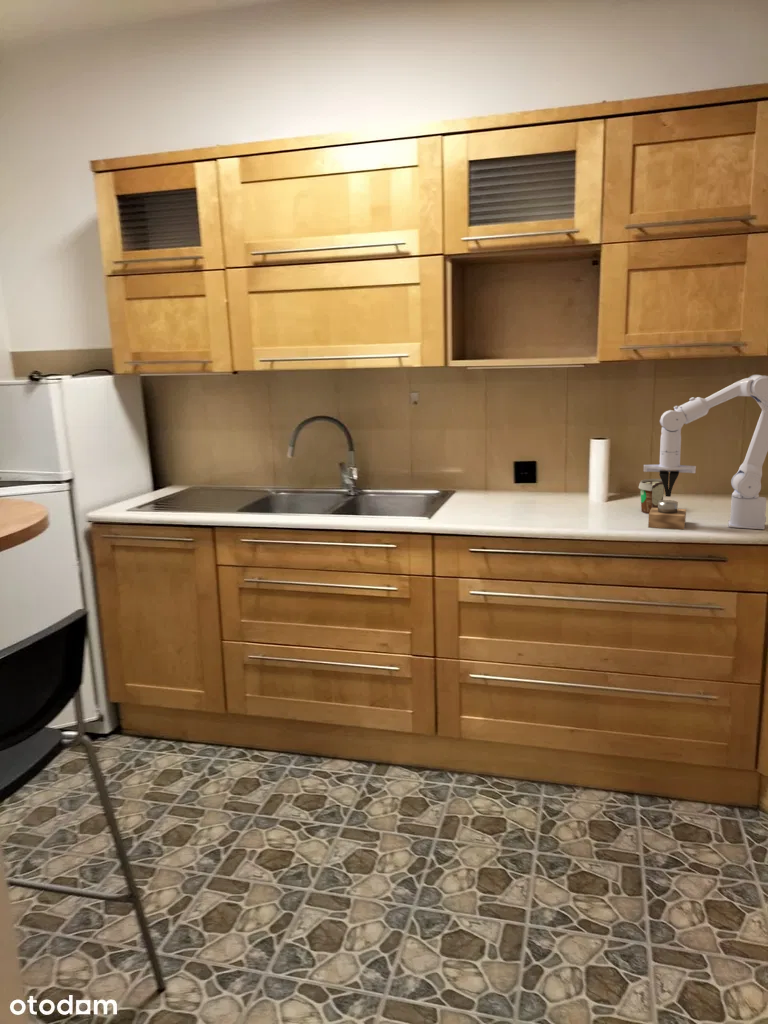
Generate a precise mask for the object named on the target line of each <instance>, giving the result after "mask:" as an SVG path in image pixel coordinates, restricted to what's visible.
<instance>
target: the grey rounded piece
mask: <svg viewBox="0 0 768 1024" xmlns="http://www.w3.org/2000/svg"><path fill="white" fill-rule="evenodd" d="M678 506H679V501H677V500H671V499H663V500H660V501H658V512H660V513H667V514H671V513H677V511H678V509H679V508H678Z"/></svg>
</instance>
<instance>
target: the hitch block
mask: <svg viewBox="0 0 768 1024" xmlns="http://www.w3.org/2000/svg"><path fill="white" fill-rule="evenodd" d="M686 514H687V509H686V508H678V511H677V513H671V514H667V513H660V512H658V508H651V510H650V512H649V514H648V524H647V528H655V529H671V530H685V526H686V520H687V519H686V517H687V516H686Z"/></svg>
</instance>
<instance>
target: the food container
mask: <svg viewBox="0 0 768 1024" xmlns="http://www.w3.org/2000/svg"><path fill="white" fill-rule="evenodd" d="M638 489H639V490H640V509H641V512H642V513H644V514H646V515H649V512H650V510H651V508H658V501H660V500H664V493H665V489H664V485H663V482H662V480H661V478H646V479H642V480H640V482H639V485H638Z"/></svg>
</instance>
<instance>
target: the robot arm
mask: <svg viewBox="0 0 768 1024" xmlns="http://www.w3.org/2000/svg"><path fill="white" fill-rule="evenodd" d="M736 397H751V398H752V399H754V400H755V401H756V403H757V404H758V406H759V407H760V409H761V413H760V415H759V418H758V420H757V423H756V426H755V428H754V431H753V434H752V436H751V441H750V442H749V446H748V449H747V452H746V454H745V457H744V460H743V462H742V463H741V464H740V465H739V468H738V471H737V472H736V473H735V474H734V475H733V476H732V478H731V480H730V485H731V487H732V489H733V492H732V493H731V502H730V514H729V515H730V520H728V521H727V523H728V528H734V529H754V530H755V529H756V530H765V525H766V522H767V516H766V511H767V498H766V497H763V496H760V494H759V493H760V492H761V489H762V483H761V481H762V477H763V465H764V462H765V460H766V457H767V454H768V375H761V374H752V375H750V376H749V377H745V378H743V379H740V380H737V381H735V382H734V383H732V384H730V385H728V386H726V387H724V388H722V389H721V390H718V391H716V392H714V393H712V394H711V395H709V396H707V397H705V398H704V397H700V396H697V397H690V398H689V399H688V400H689V401H687V402H684V403H682V404H680V405H674V406H673V409H674V410H672V409H669V410H665V411H664V412H663V413H662V414H661V416H660V419H659V424H660V426H661V430H660V432H661V434H660V442H659V443H660V444H659V445H660V446H659V464H643V472H644V473H647V472H648V473H650V472H653V473H659V479H661V480H662V482H663V485H664V493H665V497H671V496H672V490H673V487H674V485H675V482H676V481H677V478H678V477H679V474H680V473H681V474H683V473H686V474H696V468H697V466H696V465H684V464H681V453H682V451H681V450H682V449H681V447H682V433H681V432H682V428H683V427H684V424H685V425H688V424H690V423H691V422H692V423H693V422H694V421H697V420H698V419H700V418H702V417H705V416H706V415H708V413H709V410H710V409H711V408H713V407H715V406H718V405H720V404H723V403H725V402H727V401H729V400H731V399H734V398H736Z"/></svg>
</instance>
